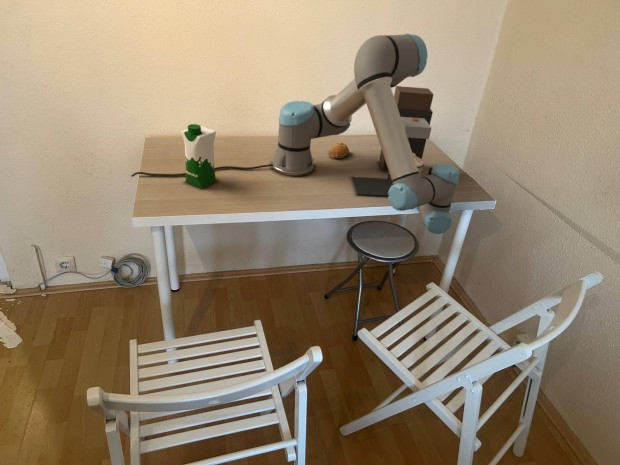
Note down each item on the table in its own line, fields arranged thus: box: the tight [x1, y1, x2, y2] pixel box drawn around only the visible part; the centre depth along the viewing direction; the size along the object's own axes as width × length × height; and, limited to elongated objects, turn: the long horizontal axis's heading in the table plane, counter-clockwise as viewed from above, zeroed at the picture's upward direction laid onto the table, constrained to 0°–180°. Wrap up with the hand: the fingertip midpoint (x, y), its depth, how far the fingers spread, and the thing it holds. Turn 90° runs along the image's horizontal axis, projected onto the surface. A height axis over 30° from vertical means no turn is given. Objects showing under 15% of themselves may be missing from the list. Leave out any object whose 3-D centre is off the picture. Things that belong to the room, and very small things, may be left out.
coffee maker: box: [378, 85, 434, 172], centre depth 171 cm, size 18×14×30 cm
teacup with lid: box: [412, 153, 425, 177], centre depth 170 cm, size 12×9×12 cm
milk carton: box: [181, 123, 217, 189], centre depth 154 cm, size 9×9×20 cm
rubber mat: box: [352, 176, 392, 198], centre depth 167 cm, size 13×13×1 cm
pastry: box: [330, 142, 350, 159], centre depth 187 cm, size 9×7×4 cm
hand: (411, 169), depth 167 cm, fingers open, 13 cm apart
